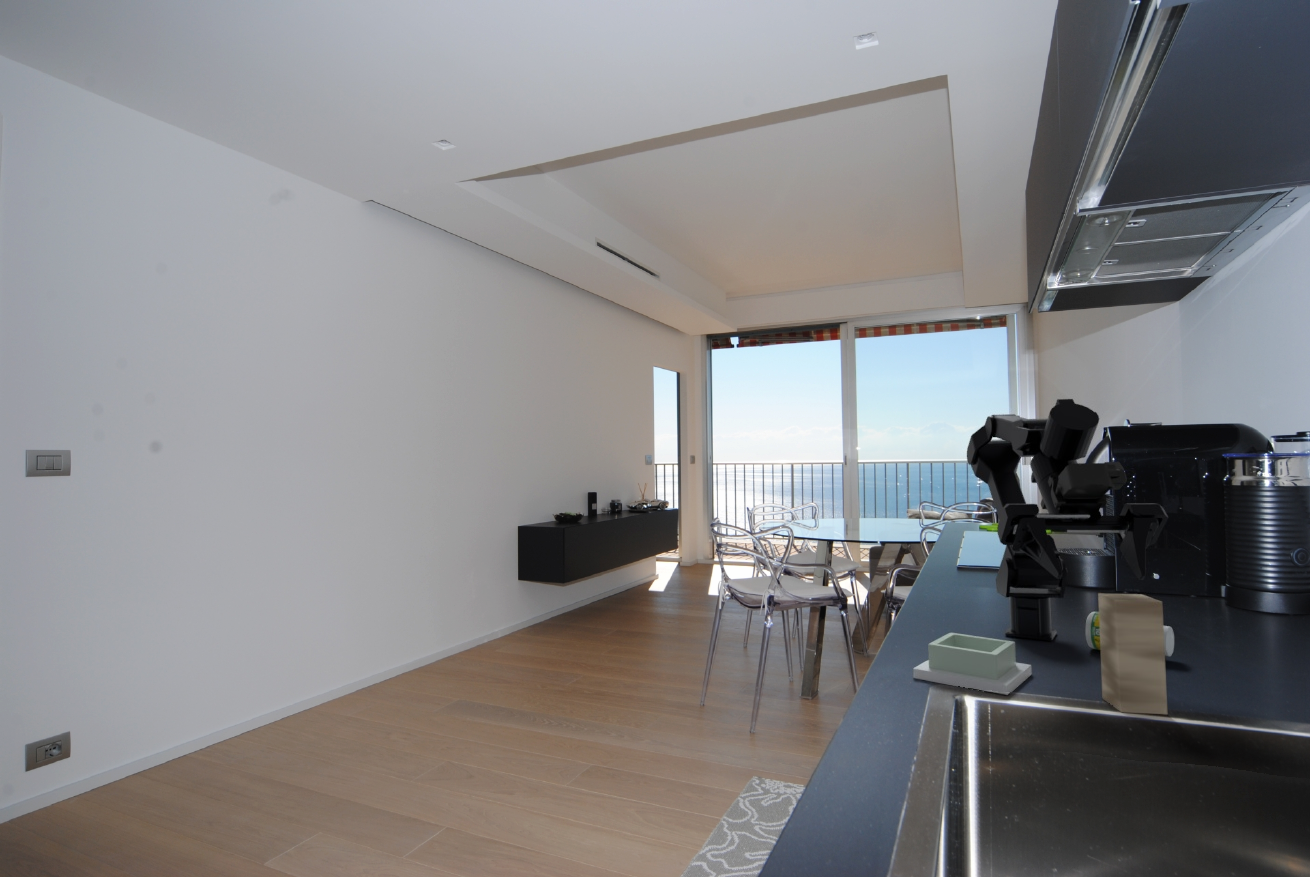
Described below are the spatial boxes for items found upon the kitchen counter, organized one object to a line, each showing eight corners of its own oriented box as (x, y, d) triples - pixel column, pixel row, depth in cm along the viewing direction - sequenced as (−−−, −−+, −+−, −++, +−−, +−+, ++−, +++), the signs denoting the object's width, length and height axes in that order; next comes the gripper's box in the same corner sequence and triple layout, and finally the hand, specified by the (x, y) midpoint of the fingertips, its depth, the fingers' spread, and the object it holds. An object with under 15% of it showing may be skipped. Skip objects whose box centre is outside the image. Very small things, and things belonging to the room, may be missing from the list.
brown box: (1102, 698, 79) (1098, 593, 80) (1146, 700, 78) (1141, 594, 79) (1121, 712, 75) (1116, 600, 75) (1167, 714, 74) (1162, 601, 74)
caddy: (944, 659, 96) (943, 629, 96) (1031, 674, 89) (1030, 641, 89) (913, 677, 88) (912, 644, 88) (1006, 696, 80) (1005, 659, 81)
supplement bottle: (1091, 655, 101) (1171, 670, 93) (1081, 632, 99) (1161, 645, 91) (1100, 626, 103) (1178, 638, 96) (1090, 603, 101) (1169, 613, 94)
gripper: (1000, 443, 92) (1032, 534, 81) (1156, 440, 88) (1213, 535, 77) (985, 500, 99) (1013, 590, 88) (1129, 499, 96) (1177, 593, 84)
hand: (1100, 576), depth 84 cm, fingers open, 9 cm apart
